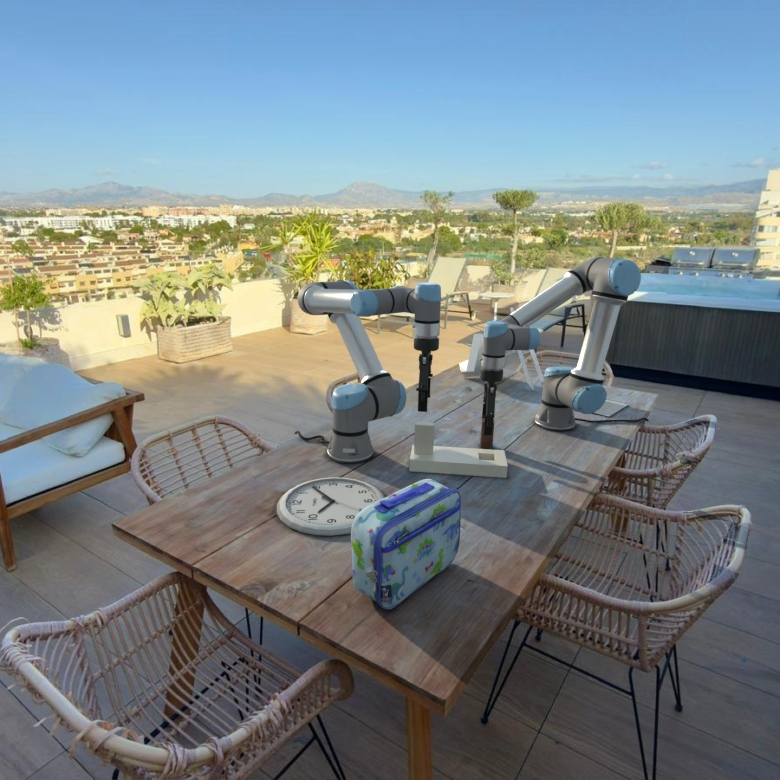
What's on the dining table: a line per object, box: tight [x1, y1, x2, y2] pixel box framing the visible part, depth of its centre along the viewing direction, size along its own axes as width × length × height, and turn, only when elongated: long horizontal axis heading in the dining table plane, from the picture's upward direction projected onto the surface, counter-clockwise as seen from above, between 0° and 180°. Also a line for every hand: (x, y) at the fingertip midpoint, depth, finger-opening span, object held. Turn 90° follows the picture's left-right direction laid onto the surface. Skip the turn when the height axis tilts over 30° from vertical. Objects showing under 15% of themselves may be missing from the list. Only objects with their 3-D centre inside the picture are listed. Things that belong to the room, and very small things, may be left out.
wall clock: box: [276, 476, 386, 537], centre depth 142 cm, size 30×2×30 cm
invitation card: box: [593, 399, 629, 418], centre depth 226 cm, size 21×1×15 cm
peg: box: [479, 417, 495, 450], centre depth 181 cm, size 4×4×10 cm
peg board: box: [408, 420, 509, 479], centre depth 165 cm, size 30×12×14 cm, turn 83°
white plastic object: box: [458, 306, 544, 391], centre depth 258 cm, size 37×45×31 cm
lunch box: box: [350, 478, 462, 611], centre depth 110 cm, size 26×11×21 cm, turn 135°
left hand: (424, 404), depth 161 cm, fingers open, 13 cm apart
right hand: (486, 427), depth 180 cm, fingers open, 13 cm apart
